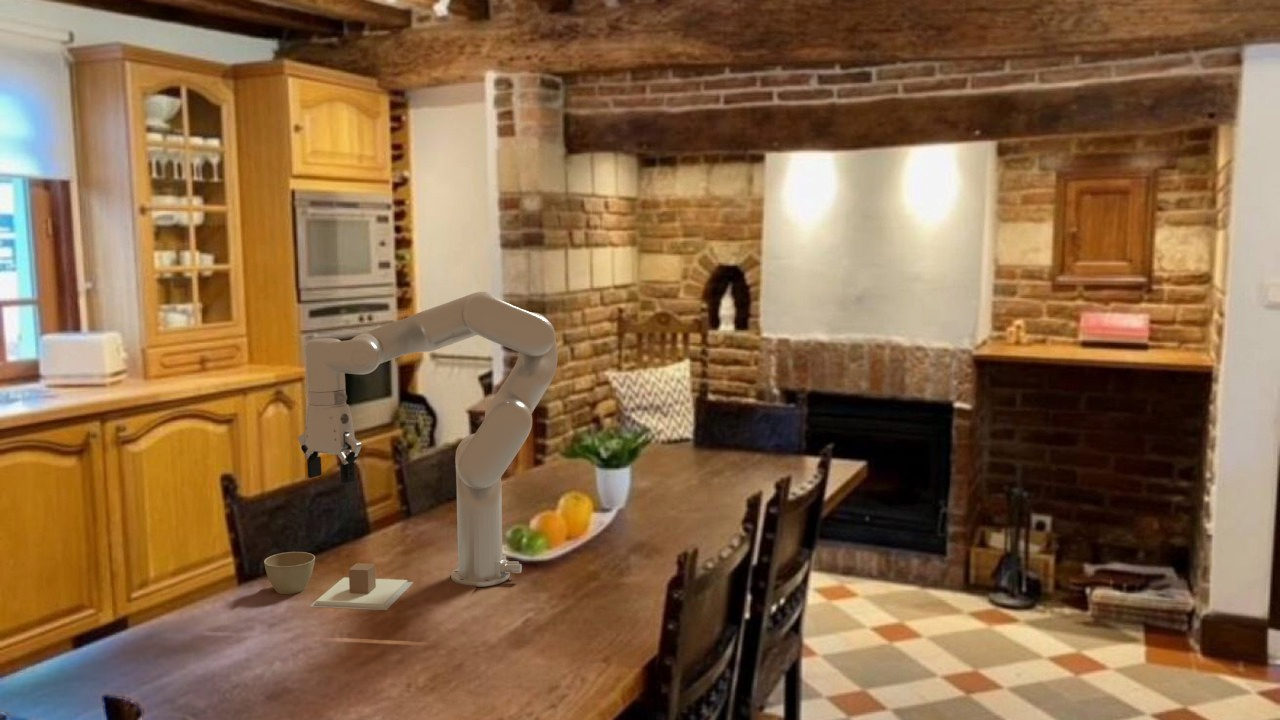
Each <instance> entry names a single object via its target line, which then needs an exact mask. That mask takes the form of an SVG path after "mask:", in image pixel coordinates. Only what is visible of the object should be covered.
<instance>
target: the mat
mask: <svg viewBox="0 0 1280 720" xmlns="http://www.w3.org/2000/svg"><path fill="white" fill-rule="evenodd" d="M338 582H339V581H337V582H336V583H335V584H337V583H338ZM413 584H414V582H413V581H407V585H406V586H405V587H404V588H403V589H402V590H401V591H400V592H399V593H398V594H397V595H396V596H395V597H394V598H393V599H392V600H391V601H390V602H389V603H388V604H387V605H386V606H385V607H384V608H376V607H354V606H331V605H316V600H315V601H314V602H312V603H311V604H310V605H308V606H309V608H331V609H332V608H333V609H349V610H350V609H351V610H352V609H354V610H373V611H375V610H376V611H378V610H379V611H387V610H388V609H389V608H390V607H392V605H393V604H394V603H395V602H396V601H397V600H398V599H400V597H401V596H402V595H403V594H405V592H406V591H407V590H408V589H409V587H411V586H412V585H413ZM332 587H333V586H332ZM332 587H331V588H332ZM331 588H329V589H331ZM325 593H326V592H324V593H323V594H325ZM319 598H320V597H318V598H317V599H319Z"/></svg>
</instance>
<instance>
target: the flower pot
mask: <svg viewBox="0 0 1280 720" xmlns="http://www.w3.org/2000/svg"><path fill="white" fill-rule="evenodd" d="M315 561H316V556H315V555H314V554H312V553H309V552H305V551H289V552H281V553H277V554H273V555H270V556H268V557H266V558H264V561H263V565H264V569H265V572H266V576H267V578H268V580H269V582H270V583H271V586H272V587H273V589H274V591H275V592H276V593H277V594H280V595H293V594H297V593H298V594H299V593H301V592H303V591H304V590H305V589H306V587H307V585H308V584H309V582H310V579H311V577H312V574H313V571H314V566H315V563H316V562H315Z"/></svg>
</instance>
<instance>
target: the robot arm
mask: <svg viewBox="0 0 1280 720" xmlns="http://www.w3.org/2000/svg"><path fill="white" fill-rule="evenodd" d="M475 336H480V337H481V338H484V339H486V340H488V341H491V342H493V343H496V344H497V345H500V346H503V347H505V348H507V349H511V350H513V351H516V352H517V353H518V357H517V360H516V361H515V362H516V363H515V364H514V366H513V368H512V369H511V371H510V373H508V374H509V375H507V377H506V380H505V381H504V382H503V384H501V387H500V388H499V389H498V391H497V392H496V393H495V395H494V396H493V398H492V399H491V400H490V402H488V404H487V405H486V408H485V412H484V420H482V423H481V424H480V426H479V427H478V428H477V430H476V432H475V433H472V434H469V435H468V436H465V437H464V438H462V440H461V441H460V443H459V444H458V446H457V448H456V451H455V457H454V458H455V477H456V478H455V480H456V518H457V519H456V520H457V521H456V523H457V526H456V529H457V565H458V567H457V568H455V569H454V570H453V571H452V572H451V573H450V577H451V580H452V582H454V583H457V584H460V585H464V586H465V585H466V586H476V588H481V587H482V588H483V587H484V588H485V587H490V586H495V585H496V586H497V585H499V584H502V583H504V582H506V581H508V579H509V578H510V577H511V576H510V573H513V574H521V573H522V571H523V570H522V569H523V568H522V567H523V566H522V565H523V564H522V563H520V562H519V561H513V560H512V561H509V559H507V554H506V553H505V554H503V515H502V514H503V513H502V512H503V511H502V509H503V508H502V507H503V505H502V504H503V501H502V500H503V499H502V498H503V497H502V495H503V494H502V476H503V475H504V473H505V472H506V470H507V469H508V468H509V466H510V465H511V463H512V462H513V460H514V459H515V457H516V456H517V454H518V453H519V451H520V450H521V448H522V447H523V445H524V443H525V442H526V440H527V438H528V437H529V435H530V433H531V430H532V427H533V415H532V414H533V413H534V410H535V409H536V407H537V406H538V404H539V403H540V402H541V400H542V397H543V396H544V395H545V393H546V391H547V390H548V388H549V386H550V384H551V383H552V381H553V379H554V376H555V374H556V370H557V366H558V359H559V358H558V357H559V354H558V352H559V351H558V343H557V341H556V331H555V327H554V326H553V324H552V323H551V322H550V320H548V319H547V318H546V317H545V316H544V315H542V314H541V313H538V312H534V311H533V312H531V311H528V310H525V309H522V308H520V307H517V306H515V305H513V304H510V303H509V302H506V301H503V300H501V299H499V298H498V297H496V296H495V295H493V294H491V293H490V292H488V291H487V292H486V291H478V292H474V293H473V292H472V293H471V294H468V295H465V296H462V297H459V298H456V299H453V300H451V301H449V302H446V303H442V304H440V305H437V306H434V307H431V308H428V309H425V310H422V311H420V312H417V313H415V314H412V315H410V316H407V317H405V318H402V319H400V320H397V321H393V322H391V323H388V324H385V325H382V326H379V327H376V328H374V329H371V330H368V331H365V332H363V333H360V334H357V335H356V336H354V337H353V338H351V339H348V340H340V339H339V338H333V337H325V338H324V337H321V338H313V339H310V340H308V341H307V342H306V343H305V346H304V347H305V348H304V350H305V351H304V352H305V370H306V387H307V403H308V404H307V407H306V413H305V414H306V415H305V432H303V433H302V434H301V435H299V436H298V438H297V439H298V441H299V445H300V446H301V447H300V448H301V451H302V452H303V454H304V458H305V460H306V463H307V464H306V467H307V477H308V478H309V479H312V478H316V477H320V476H321V475H323V473H322V457H321V456H320V454H327V455H328V454H329V455H337V456H338V458H339V459H340V461H341V463H340V467H339V468H340V482H341V484H348V483H351V482H354V481H355V479H356V477H355V463H356V462H357V459H358V457H359V456H360V451H361V448H362V446H363V445H362V442H360V441H359V440H358V439H357V438H355V437H356V436H355V428H354V421H353V415H352V411H351V408H350V405H349V404H347V400H348V395H347V392H346V390H347V389H346V375H345V374H352V375H368V374H370V373H372V372H374V371H375V370H376V369H377V368H378V367H379V365H381V364H383V363H386V362H388V361H391V360H393V359H397V358H400V357H403V356H406V355H409V354H414V353H420V352H421V353H423V352H424V353H427V352H432V351H437V350H440V349H443V348H445V347H448V346H451V345H453V344H455V343H458V342H461V341H464V340H467V339H470V338H473V337H475ZM346 455H347V456H346Z"/></svg>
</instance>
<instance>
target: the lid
mask: <svg viewBox="0 0 1280 720" xmlns="http://www.w3.org/2000/svg"><path fill="white" fill-rule="evenodd" d="M337 582H338V583H337ZM337 582H336V583H337V584H336V583H335V584H333V585H332V588H331V589H330V588H329V589H328V590H326V591H325V592H324V593H325V594H324V593H323V594H322V595H321V596H320V597H318V598H319V599H318V598H317V599H316V600H315V601H316V605H331V606H354V607H376V608H384V607H385V606H386V605H387V604H388V603H389V602H390V601H391V600H392V599H393V598H394V597H395V596H396V595H397V594H398V593H399V592H400V591H401V590H402V589H403V588H404V587H405V586H406V585H407V582H408V579H393V578H376V563H364V562H363V563H362V562H361V563H360V562H357V563H355V564H354V565H352V566H351V567H350V568H349V569H348V577H345V576H344V577H342V579H340V580H339V581H337Z"/></svg>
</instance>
